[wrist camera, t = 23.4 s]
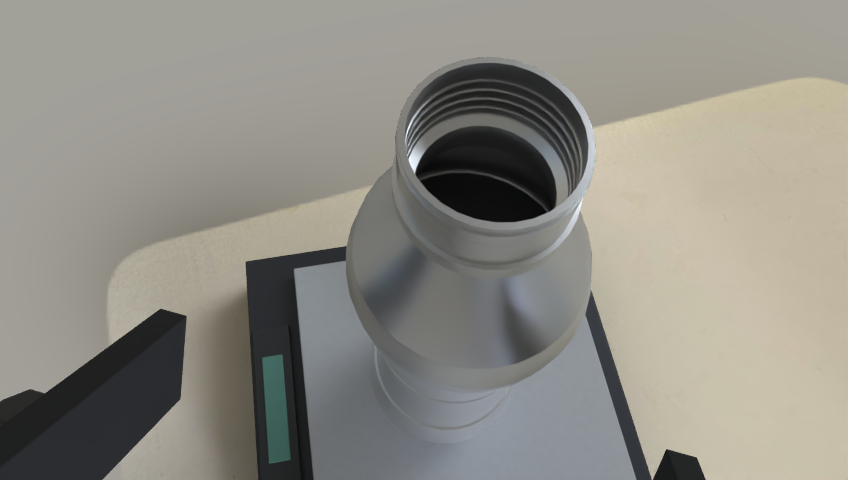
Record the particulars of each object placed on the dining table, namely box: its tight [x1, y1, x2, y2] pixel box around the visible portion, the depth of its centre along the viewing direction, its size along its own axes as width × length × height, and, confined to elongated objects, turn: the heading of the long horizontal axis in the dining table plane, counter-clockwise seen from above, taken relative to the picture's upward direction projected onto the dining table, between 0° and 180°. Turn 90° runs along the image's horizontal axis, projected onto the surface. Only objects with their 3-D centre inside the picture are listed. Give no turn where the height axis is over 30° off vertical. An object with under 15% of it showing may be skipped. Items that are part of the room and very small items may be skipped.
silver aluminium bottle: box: [346, 57, 596, 444], centre depth 19 cm, size 6×7×20 cm
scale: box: [246, 246, 652, 480], centre depth 30 cm, size 18×16×4 cm
